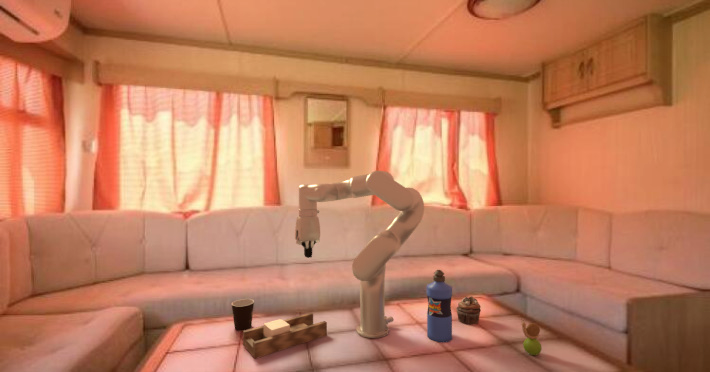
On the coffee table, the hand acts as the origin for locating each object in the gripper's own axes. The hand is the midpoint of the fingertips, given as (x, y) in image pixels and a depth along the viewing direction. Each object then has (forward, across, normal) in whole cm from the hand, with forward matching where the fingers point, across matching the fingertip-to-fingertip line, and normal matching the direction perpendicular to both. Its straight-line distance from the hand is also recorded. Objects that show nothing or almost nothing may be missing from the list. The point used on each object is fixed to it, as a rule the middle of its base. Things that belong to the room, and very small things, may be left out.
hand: (308, 257), depth 140 cm
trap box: (+27, +15, +10) cm, 33 cm away
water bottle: (+27, -32, +43) cm, 60 cm away
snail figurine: (+27, -46, +70) cm, 88 cm away
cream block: (+24, +19, +10) cm, 32 cm away
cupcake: (+27, -53, +41) cm, 72 cm away
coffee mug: (+27, +23, -12) cm, 38 cm away
